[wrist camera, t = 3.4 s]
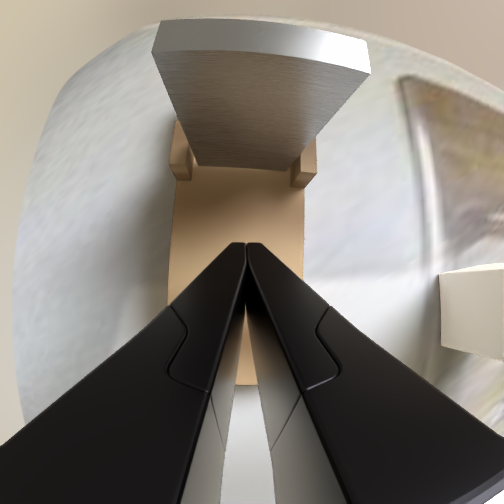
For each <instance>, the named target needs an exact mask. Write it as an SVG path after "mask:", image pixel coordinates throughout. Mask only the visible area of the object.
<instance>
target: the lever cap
mask: <svg viewBox="0 0 504 504" xmlns="http://www.w3.org/2000/svg"><path fill="white" fill-rule="evenodd" d="M151 53H152V55H153V58H154V60H155V63H156V65H157V68H158V70H159V73H160V75H161V78H162V80H163V83H164V85H165V87H166V90H167V92H168V95H169V97H170V100H171V102H172V104H173V107H174V109H175V112H176V114H177V117H178V119H179V121H180V124H181V126H182V129H183V131H184V133H185V136H186V138H187V140H188V143H189V145H190V148H191V150H192V152H193V155H194V157H195V159H196V162H197V164H198V166H210V167H231V168H247V169H261V170H273V171H284V172H286V171H287V170H288V169H289V167H290V166H291V165H292V164H293V163H294V161H295V160H296V159H297V158H298V157H299V155H300V154H301V153H302V152H303V151H304V150H305V148H306V147H307V146H308V145H309V144H310V142H311V141H312V140H313V139H314V138H315V137H316V135H317V134H318V133H319V132H320V131H321V130H322V128H323V127H324V126H325V125H326V124H327V123H328V122H329V120H330V119H331V118H332V117H333V116H334V115H335V113H336V112H337V111H338V110H339V109H340V108H341V107H342V105H343V104H344V103H345V102H346V101H347V100H348V99H349V97H350V96H351V95H352V94H353V93H354V92H355V91H356V90H357V88H358V87H359V86H360V85H361V84H362V83H363V82H364V81H365V79H366V78H367V77H368V76H369V75H370V74H371V71H370V64H369V58H368V52H367V47H366V41H362V40H359V39H355V38H352V37H348V36H344V35H340V34H336V33H332V32H327V31H323V30H318V29H313V28H307V27H302V26H296V25H289V24H282V23H274V22H265V21H254V20H240V19H180V20H165V21H161V22H160V25H159V28H158V32H157V35H156V38H155V41H154V45H153V48H152V52H151Z"/></svg>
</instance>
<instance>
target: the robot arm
mask: <svg viewBox="0 0 504 504" xmlns="http://www.w3.org/2000/svg"><path fill="white" fill-rule="evenodd" d="M245 309H246V317H247V324H248V330H249V336H250V342H251V348H252V354H253V360H254V366H255V371H256V377H257V383H258V389H259V394H260V400H261V406H262V411H263V417H264V423H265V428H266V434H267V439H268V444H269V450H270V455H271V461H272V468H273V478H274V490H275V501H276V504H504V437H502V436H500V435H499V434H497V433H496V432H494V431H493V430H492V429H490V428H489V427H488V426H486V425H485V424H484V423H482V422H481V421H480V420H478V419H477V418H476V417H474V416H473V415H472V414H470V413H469V412H468V411H466V410H465V409H464V408H462V407H461V406H460V405H458V404H457V403H455V402H454V401H453V400H451V399H450V398H449V397H447V396H446V395H445V394H443V393H442V392H441V391H439V390H438V389H437V388H435V387H434V386H433V385H431V384H430V383H429V382H427V381H426V380H425V379H423V378H422V377H421V376H419V375H418V374H417V373H415V372H414V371H413V370H411V369H410V368H409V367H407V366H406V365H404V364H403V363H402V362H400V361H399V360H398V359H396V358H395V357H394V356H392V355H391V354H390V353H388V352H387V351H386V350H384V349H383V348H382V347H380V346H379V345H378V344H376V343H375V342H374V341H372V340H371V339H370V338H369V337H367V336H366V335H365V334H363V333H362V332H361V331H360V330H358V329H357V328H356V327H355V326H354V325H352V324H351V323H350V322H349V321H348V320H347V319H345V318H344V317H343V316H342V315H341V314H340V313H339V312H338V311H337V310H335V309H334V308H333V307H332V306H330V305H329V304H328V303H327V302H326V301H325V300H324V299H323V298H322V297H320V296H319V295H318V294H317V293H316V292H315V291H314V290H313V289H312V288H311V287H310V286H308V285H307V284H306V283H305V282H304V281H303V280H302V279H301V278H300V277H299V276H297V275H296V274H295V273H294V272H293V271H292V270H291V269H290V268H289V267H288V266H286V265H285V264H284V263H283V262H282V261H281V260H280V259H279V258H278V257H276V256H275V255H274V254H273V253H272V252H271V251H270V250H269V249H268V248H266V247H265V246H264V245H263V244H262V243H260V242H248V243H247V244H246V243H244V242H232V243H230V244H229V245H228V246H227V247H226V248H225V249H224V250H223V251H222V252H221V253H220V254H219V255H218V256H217V257H216V258H215V259H214V260H213V261H212V262H211V263H210V264H209V265H208V266H207V267H206V268H205V269H204V270H203V271H202V272H201V273H200V274H199V275H198V276H197V277H196V278H195V279H194V280H193V281H192V282H191V283H190V284H189V285H188V286H187V287H186V288H185V289H184V290H183V291H182V292H181V293H180V294H179V295H178V296H177V297H176V298H175V299H174V300H173V301H172V302H171V303H170V304H169V305H167V306H166V307H165V308H164V309H163V310H162V311H161V312H160V313H159V314H158V315H157V316H156V317H155V318H154V319H153V320H152V321H151V322H150V323H149V324H148V325H147V326H146V327H145V328H144V329H142V330H141V331H140V332H139V333H138V334H137V335H135V336H134V337H133V338H132V339H131V340H130V341H128V342H127V343H126V344H125V345H124V346H122V347H121V348H120V349H119V350H117V351H116V352H115V353H114V354H112V355H111V356H110V357H109V358H108V359H106V360H105V361H104V362H103V363H101V364H100V365H99V366H98V367H96V368H95V369H94V370H93V371H92V372H90V373H89V374H88V375H87V376H85V377H84V378H83V379H82V380H81V381H79V382H78V383H77V384H76V385H74V386H73V387H72V388H71V389H69V390H68V391H67V392H66V393H65V394H63V395H62V396H61V397H60V398H59V399H57V400H56V401H55V402H54V403H52V404H51V405H50V406H49V407H48V408H46V409H45V410H44V411H43V412H42V413H40V414H39V415H38V416H37V417H35V418H34V419H33V420H32V421H31V422H29V423H28V424H27V425H26V426H25V427H23V428H22V429H21V430H20V431H19V432H17V433H16V434H15V435H14V436H13V437H11V438H10V439H9V440H8V441H7V442H5V443H4V444H3V445H1V446H0V504H220V496H221V485H222V474H223V465H224V458H225V451H226V444H227V437H228V431H229V424H230V417H231V410H232V403H233V397H234V390H235V383H236V376H237V369H238V363H239V356H240V349H241V342H242V335H243V328H244V321H245Z"/></svg>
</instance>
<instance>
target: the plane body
mask: <svg viewBox="0 0 504 504" xmlns="http://www.w3.org/2000/svg"><path fill="white" fill-rule="evenodd" d="M169 165H170V167H171V169H172V172H173V174H174V176H175V178H176V180H177V184H176V192H175V201H174V211H173V221H172V233H171V245H170V260H169V277H168V300H167V305H169V304H170V303H171V302H172V301H173V300H174V299H175V298H176V297H177V296H178V295H179V294H180V293H181V292H182V291H183V290H184V289H185V288H186V287H187V286H188V285H189V284H190V283H191V282H192V281H193V280H194V279H195V278H196V277H197V276H198V275H199V274H200V273H201V272H202V271H203V270H204V269H205V268H206V267H207V266H208V265H209V264H210V263H211V262H212V261H213V260H214V259H215V258H216V257H217V256H218V255H219V254H220V253H221V252H222V251H223V250H224V249H225V248H226V247H227V246H228V245H229V244H230V243H232V242H244V243H246V244H247V243H248V242H260V243H262V244H263V245H264V246H265V247H266V248H268V249H269V250H270V251H271V252H272V253H273V254H274V255H275V256H276V257H278V258H279V259H280V260H281V261H282V262H283V263H284V264H285V265H286V266H288V267H289V268H290V269H291V270H292V271H293V272H294V273H295V274H296V275H297V276H299V277H300V278H301V279H302V280H303V259H304V188H305V187H306V186H307V185H308V183H309V182H310V181H311V180H312V179H313V177H314V176H315V175H316V174H317V157H316V137H315V138H314V139H313V140H312V141H311V142H310V144H309V145H308V146H307V147H306V148H305V150H304V151H303V152H302V153H301V154H300V155H299V157H298V158H297V159H296V160H295V161H294V163H293V164H292V165H291V166H290V167H289V169H288V170H287V171H286V172H284V171H273V170H261V169H247V168H231V167H210V166H198V164H197V162H196V159H195V157H194V155H193V152H192V150H191V148H190V145H189V143H188V140H187V138H186V136H185V133H184V131H183V129H182V126H181V124H180V121H176V122H175V128H174V134H173V139H172V145H171V152H170V158H169ZM235 385H258V383H257V377H256V371H255V366H254V360H253V354H252V348H251V342H250V336H249V330H248V324H247V317H246V309H245V321H244V328H243V335H242V342H241V349H240V356H239V363H238V369H237V376H236V383H235Z"/></svg>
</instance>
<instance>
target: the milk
mask: <svg viewBox="0 0 504 504" xmlns="http://www.w3.org/2000/svg"><path fill="white" fill-rule="evenodd" d="M439 285H440V304H441V346H444V347H447V348H451V349H455V350H459V351H463V352H467V353H471V354H475V355H479V356H483V357H487V358H491V359H495V360H500V361H504V263H494V264H484V265H478V266H473V267H469V268H464V269H459V270H454V271H449V272H444V273H440V274H439Z"/></svg>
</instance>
